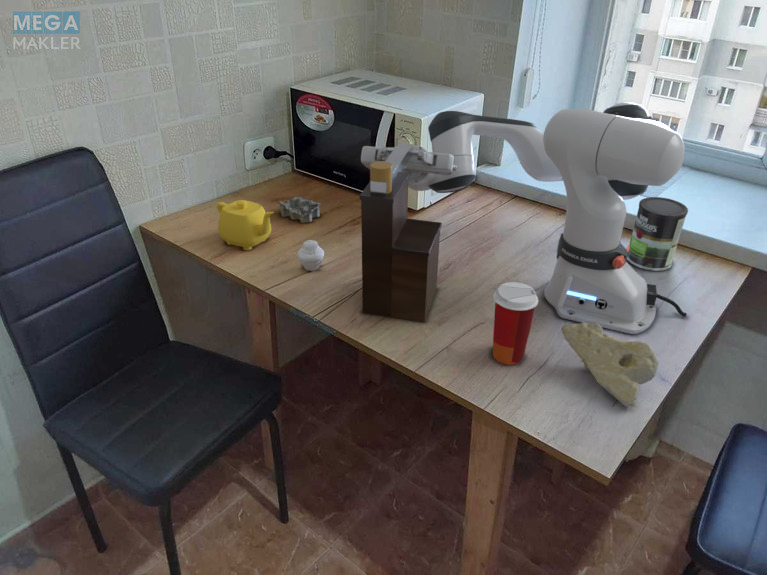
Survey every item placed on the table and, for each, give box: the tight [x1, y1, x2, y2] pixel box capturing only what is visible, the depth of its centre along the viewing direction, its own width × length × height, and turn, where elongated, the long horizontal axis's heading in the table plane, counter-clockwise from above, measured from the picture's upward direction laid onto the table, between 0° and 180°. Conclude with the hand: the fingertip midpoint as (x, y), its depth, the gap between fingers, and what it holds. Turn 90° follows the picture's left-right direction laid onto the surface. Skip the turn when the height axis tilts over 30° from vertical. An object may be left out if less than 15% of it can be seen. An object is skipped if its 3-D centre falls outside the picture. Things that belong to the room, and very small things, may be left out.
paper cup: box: [492, 281, 539, 366], centre depth 110 cm, size 8×8×14 cm
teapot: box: [216, 199, 275, 251], centre depth 149 cm, size 18×11×11 cm, turn 59°
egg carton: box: [276, 196, 322, 224], centre depth 164 cm, size 11×8×4 cm
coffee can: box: [626, 196, 689, 272], centre depth 141 cm, size 10×10×14 cm
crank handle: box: [369, 142, 413, 195], centre depth 120 cm, size 22×4×5 cm, turn 165°
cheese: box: [561, 322, 660, 408], centre depth 107 cm, size 15×7×15 cm
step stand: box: [359, 172, 443, 323], centre depth 122 cm, size 14×13×26 cm
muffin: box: [296, 239, 325, 272], centre depth 139 cm, size 6×6×7 cm
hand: (401, 153), depth 126 cm, fingers open, 7 cm apart
